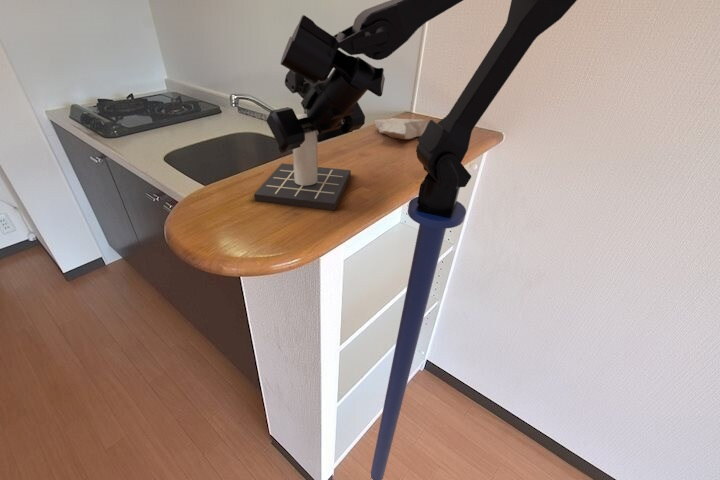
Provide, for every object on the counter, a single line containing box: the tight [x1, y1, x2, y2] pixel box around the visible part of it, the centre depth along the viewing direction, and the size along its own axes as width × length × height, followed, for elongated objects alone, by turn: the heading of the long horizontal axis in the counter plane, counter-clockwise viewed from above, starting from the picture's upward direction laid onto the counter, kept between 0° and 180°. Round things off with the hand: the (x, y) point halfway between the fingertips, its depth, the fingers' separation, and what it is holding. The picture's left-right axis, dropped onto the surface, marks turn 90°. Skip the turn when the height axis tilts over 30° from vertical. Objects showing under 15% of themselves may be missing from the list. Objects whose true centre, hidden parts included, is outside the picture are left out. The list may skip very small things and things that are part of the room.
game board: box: [253, 162, 352, 211], centre depth 73 cm, size 16×16×2 cm
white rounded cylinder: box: [292, 113, 319, 186], centre depth 68 cm, size 5×5×13 cm
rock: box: [374, 117, 429, 140], centre depth 99 cm, size 21×5×15 cm
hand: (299, 145), depth 69 cm, fingers open, 9 cm apart
